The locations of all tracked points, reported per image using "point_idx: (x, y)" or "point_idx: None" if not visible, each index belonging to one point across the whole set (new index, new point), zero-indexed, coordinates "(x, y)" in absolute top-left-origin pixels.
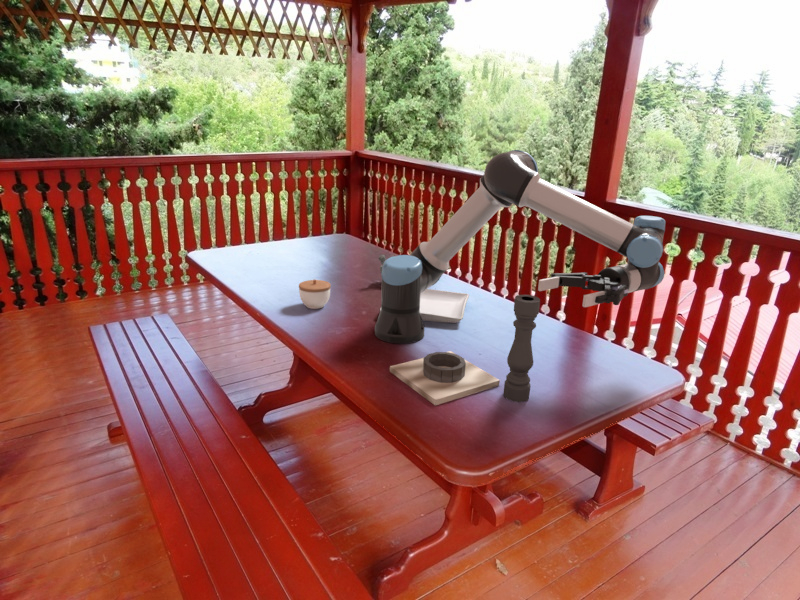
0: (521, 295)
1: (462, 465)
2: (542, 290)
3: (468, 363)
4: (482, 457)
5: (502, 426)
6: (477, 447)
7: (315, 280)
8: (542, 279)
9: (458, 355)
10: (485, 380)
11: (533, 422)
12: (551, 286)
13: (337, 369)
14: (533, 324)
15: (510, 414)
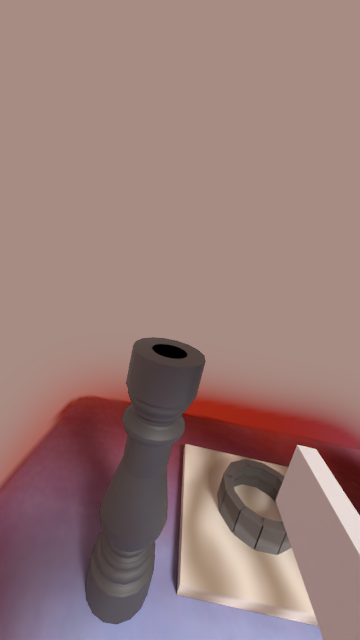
0: (198, 359)
1: (86, 398)
2: (283, 519)
3: (288, 599)
4: (75, 412)
5: (84, 467)
6: (89, 420)
7: None
8: (328, 471)
9: (281, 530)
10: (195, 551)
11: (42, 509)
12: (330, 617)
13: (310, 442)
14: (128, 414)
15: (90, 503)
